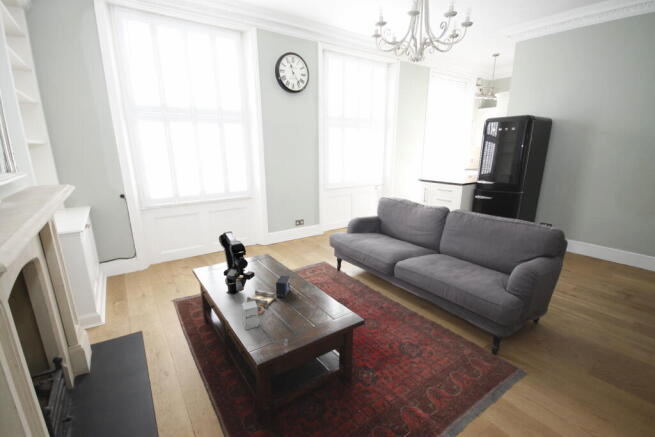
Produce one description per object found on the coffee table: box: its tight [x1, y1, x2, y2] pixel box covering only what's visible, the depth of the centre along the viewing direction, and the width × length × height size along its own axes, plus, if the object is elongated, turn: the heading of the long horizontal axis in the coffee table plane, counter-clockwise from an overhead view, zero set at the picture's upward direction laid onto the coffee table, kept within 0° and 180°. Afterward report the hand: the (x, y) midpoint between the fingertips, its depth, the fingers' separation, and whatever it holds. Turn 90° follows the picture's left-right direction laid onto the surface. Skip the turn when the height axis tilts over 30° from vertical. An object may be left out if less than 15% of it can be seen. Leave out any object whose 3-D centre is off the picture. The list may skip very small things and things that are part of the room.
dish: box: [257, 306, 265, 316], centre depth 178 cm, size 8×8×4 cm
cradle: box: [246, 289, 277, 308], centre depth 190 cm, size 14×12×4 cm
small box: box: [275, 275, 291, 298], centre depth 198 cm, size 11×6×10 cm, turn 168°
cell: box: [236, 275, 245, 292], centre depth 184 cm, size 4×4×8 cm
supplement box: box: [241, 301, 259, 331], centre depth 164 cm, size 7×7×13 cm
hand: (240, 286), depth 184 cm, fingers closed on cell, 4 cm apart
